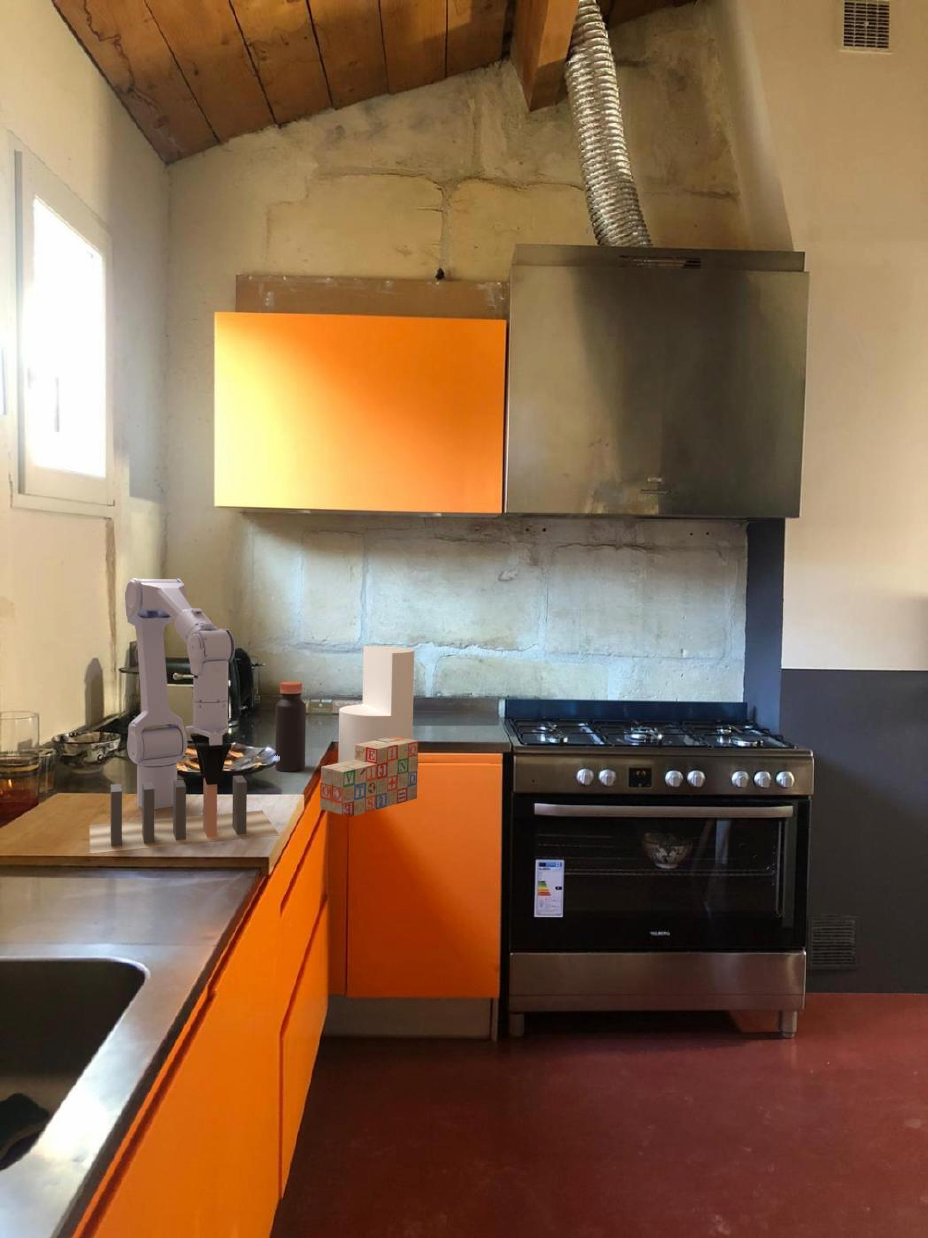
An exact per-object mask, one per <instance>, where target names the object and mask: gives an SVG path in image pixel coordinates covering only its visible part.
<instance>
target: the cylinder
mask: <svg viewBox="0 0 928 1238" xmlns="http://www.w3.org/2000/svg"><path fill="white" fill-rule="evenodd" d="M362 656H363V657H362V658H363V659H362V660H363V661H362V663H363V664H362V666H363V667H362V668H363V669H362V670H363V671H362V703H361V704H351V705H346V706H342V707H340V708H339V710H338V755H337V756H338V758H337V759H338V760H337V763H341V762H346V761H351V760H355V745H356V744H361V743H366V742H370V741H376V740H378V739H383V738H393V737H399V738H405V739H411V740H413V734H414V733H413V731H414V730H413V729H414V727H413V726H414V723H413V722H414V688H415V687H414V685H415V682H414V681H415V649H413V648H411V647H410V648H408V647H401V646H400V647H399V646H383V645H363V655H362Z"/></svg>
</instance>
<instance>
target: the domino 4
mask: <svg viewBox="0 0 928 1238" xmlns="http://www.w3.org/2000/svg"><path fill="white" fill-rule="evenodd" d="M202 795H203V797H202V799H203V803H202V804H203V805H202V807H203V809H202V810H203V811H202V813H203V814H202V815H203V830H204V832H205V834H206V837H217V814H218V784H215V785H207V784H206V781H205V777H203V794H202Z"/></svg>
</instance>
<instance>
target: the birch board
mask: <svg viewBox="0 0 928 1238" xmlns="http://www.w3.org/2000/svg"><path fill="white" fill-rule="evenodd" d="M232 816H233V812H225V813H217V837H206V834H205V832H204V830H203V814H202V815H193V816H192V815H191V816H186V840H176V839H175V836H174V833H173V817H170V818H169V817H168V818H158V819H157V818H156V819H154V843H144V841H143V836H142V820H135V821H133V820H132V821H125V822H123V821H122V846H112V847H111V822H110V823H99V824H89V854H91V855H92V854H100V853H111V852H121V851H130V850H131V851H132V850H134V851H135V850H142V849H152V848H153V849H155V848H162V847H172V846H183V845H185V846H186V845H194V844H195V845H196V844H203V843H213V842H224V841H234V840H244V839H254V838H263V837H274V836H275V837H276V836H280V834H279V832H278V830H277V829H276V828H275V826H274V825H273V824H272V822H271V820H270V819H269V818H268V817H267V814H265V812H264V810H262V809H261V810H249V811H247V820H246V834H238V835H237V834H236V832H235V830H234V828H233V827H232Z"/></svg>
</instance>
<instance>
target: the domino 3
mask: <svg viewBox="0 0 928 1238" xmlns="http://www.w3.org/2000/svg"><path fill="white" fill-rule="evenodd" d="M172 808H173V809H172V818H173V833H174V836H175V839H176V840H186V817H187V786H186V783H185V781H184V779H177V780H173V806H172Z"/></svg>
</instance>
